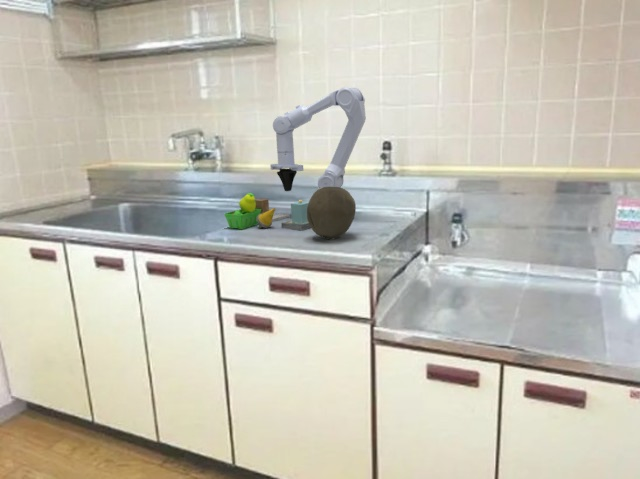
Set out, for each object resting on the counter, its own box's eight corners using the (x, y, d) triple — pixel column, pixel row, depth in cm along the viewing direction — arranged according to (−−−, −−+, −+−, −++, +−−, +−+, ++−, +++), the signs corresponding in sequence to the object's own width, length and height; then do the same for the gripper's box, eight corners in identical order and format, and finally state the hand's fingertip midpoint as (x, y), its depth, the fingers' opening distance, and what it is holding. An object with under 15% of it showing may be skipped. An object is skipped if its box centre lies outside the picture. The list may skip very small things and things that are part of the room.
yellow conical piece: (266, 226, 180) (283, 207, 175) (264, 236, 176) (281, 216, 171) (253, 218, 178) (269, 198, 173) (250, 227, 174) (267, 208, 169)
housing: (301, 219, 178) (300, 198, 176) (311, 220, 175) (310, 199, 173) (291, 221, 174) (290, 200, 173) (301, 223, 171) (300, 201, 170)
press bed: (303, 222, 181) (302, 217, 181) (322, 224, 175) (322, 220, 175) (281, 227, 174) (281, 222, 174) (301, 230, 168) (301, 225, 168)
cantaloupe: (353, 243, 149) (351, 190, 146) (304, 243, 152) (300, 191, 148) (359, 232, 163) (357, 182, 159) (313, 232, 165) (310, 184, 162)
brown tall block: (262, 217, 187) (260, 198, 185) (269, 218, 184) (268, 199, 183) (255, 219, 185) (254, 199, 183) (263, 220, 182) (261, 200, 180)
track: (280, 216, 194) (280, 213, 193) (289, 217, 191) (289, 215, 190) (257, 221, 186) (257, 219, 186) (266, 222, 183) (265, 220, 183)
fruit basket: (246, 222, 186) (243, 189, 184) (266, 223, 182) (264, 190, 179) (224, 228, 177) (221, 195, 174) (245, 230, 172) (242, 196, 170)
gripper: (263, 152, 188) (265, 191, 191) (292, 153, 178) (294, 193, 181) (277, 150, 193) (280, 188, 196) (306, 151, 183) (308, 190, 186)
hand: (288, 190), depth 189 cm, fingers closed
